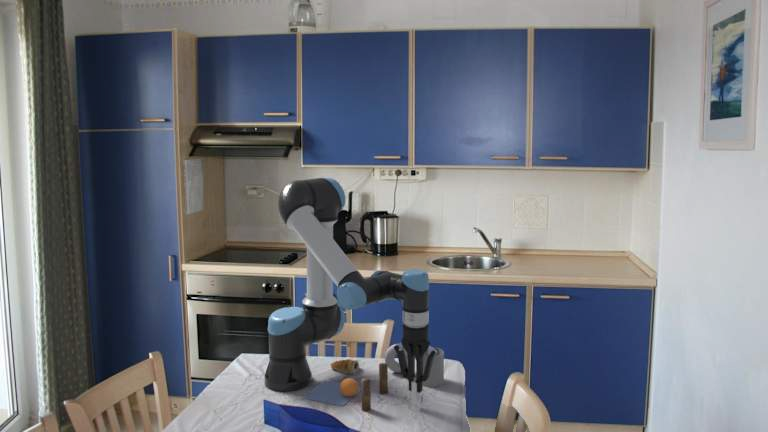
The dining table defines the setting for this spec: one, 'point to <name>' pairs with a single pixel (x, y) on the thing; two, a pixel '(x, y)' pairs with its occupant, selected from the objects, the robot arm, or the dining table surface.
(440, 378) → the cup
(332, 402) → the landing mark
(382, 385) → the post
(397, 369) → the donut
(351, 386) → the ball
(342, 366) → the pastry
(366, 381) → the post
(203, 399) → the dining table surface
